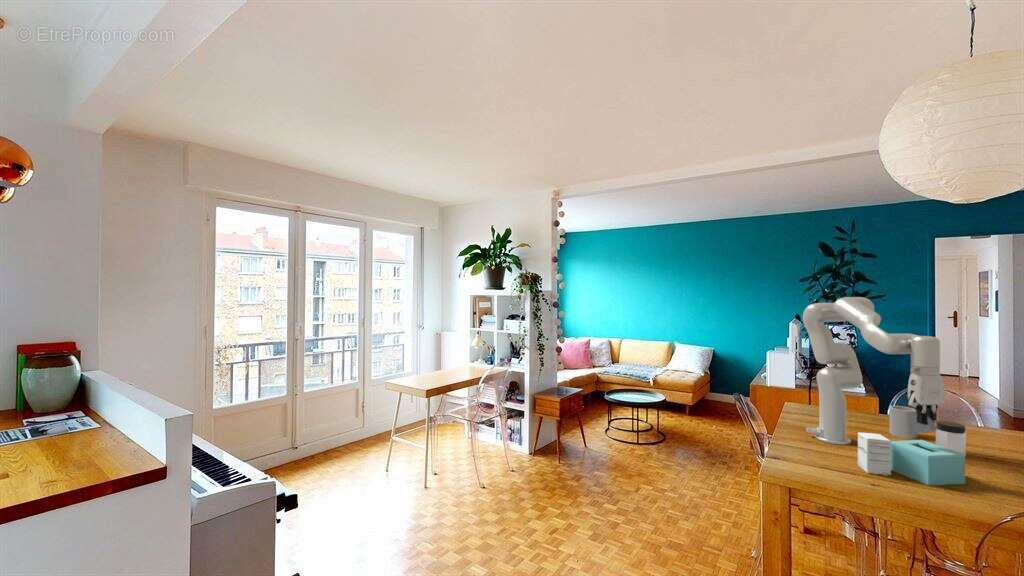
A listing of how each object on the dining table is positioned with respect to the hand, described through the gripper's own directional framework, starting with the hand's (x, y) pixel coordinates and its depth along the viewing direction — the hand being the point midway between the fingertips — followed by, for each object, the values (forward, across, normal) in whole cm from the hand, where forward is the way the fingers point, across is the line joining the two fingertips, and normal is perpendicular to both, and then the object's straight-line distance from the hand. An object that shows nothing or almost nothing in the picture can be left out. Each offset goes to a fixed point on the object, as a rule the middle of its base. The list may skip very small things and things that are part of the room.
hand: (925, 423), depth 154 cm
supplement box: (+19, -14, +6) cm, 24 cm away
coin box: (+19, 0, 0) cm, 19 cm away
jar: (+19, +32, +18) cm, 41 cm away
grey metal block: (+3, 0, 0) cm, 3 cm away
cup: (+19, +36, +40) cm, 56 cm away
